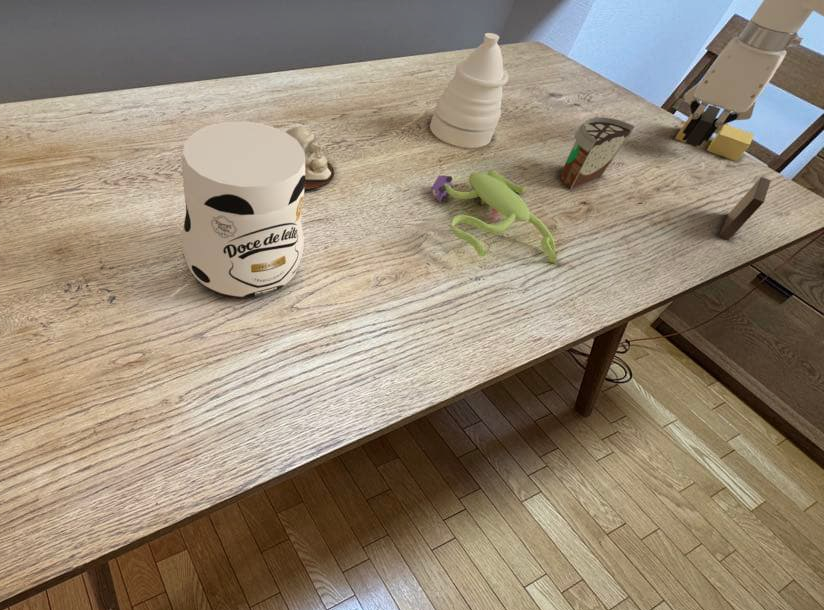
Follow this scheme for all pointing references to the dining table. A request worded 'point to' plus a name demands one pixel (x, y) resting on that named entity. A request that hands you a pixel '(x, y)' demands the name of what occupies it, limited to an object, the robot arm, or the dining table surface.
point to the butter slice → (680, 134)
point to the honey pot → (472, 98)
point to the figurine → (493, 207)
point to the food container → (594, 149)
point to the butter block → (730, 142)
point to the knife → (703, 125)
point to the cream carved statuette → (312, 158)
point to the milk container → (243, 207)
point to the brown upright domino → (745, 208)
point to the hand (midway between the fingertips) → (692, 139)
